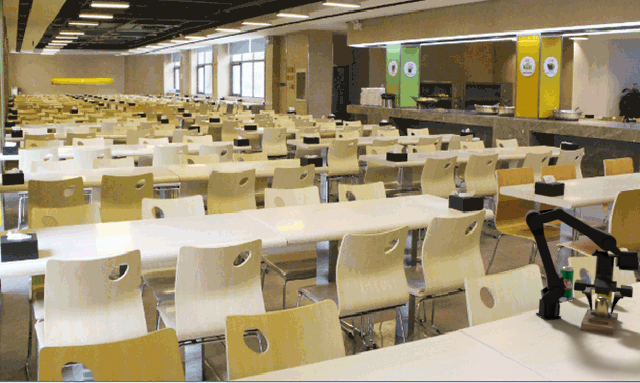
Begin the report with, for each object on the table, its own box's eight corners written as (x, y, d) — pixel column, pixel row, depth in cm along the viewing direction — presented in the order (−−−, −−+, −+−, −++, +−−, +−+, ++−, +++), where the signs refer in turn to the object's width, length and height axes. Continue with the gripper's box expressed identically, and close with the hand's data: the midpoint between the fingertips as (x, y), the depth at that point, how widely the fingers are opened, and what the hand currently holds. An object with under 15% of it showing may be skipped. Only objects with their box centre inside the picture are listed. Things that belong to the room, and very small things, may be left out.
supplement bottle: (601, 299, 253) (603, 275, 252) (614, 302, 249) (616, 278, 248) (593, 301, 251) (595, 277, 249) (606, 304, 246) (607, 280, 245)
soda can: (558, 297, 255) (560, 267, 254) (558, 293, 260) (560, 264, 258) (572, 298, 253) (574, 269, 252) (572, 295, 258) (574, 266, 256)
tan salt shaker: (599, 324, 224) (601, 299, 223) (591, 320, 228) (592, 296, 227) (610, 323, 225) (612, 298, 224) (601, 319, 229) (603, 295, 228)
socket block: (613, 335, 213) (613, 328, 213) (580, 330, 218) (581, 322, 218) (617, 319, 229) (618, 313, 228) (587, 315, 234) (587, 308, 233)
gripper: (573, 270, 221) (570, 314, 223) (634, 277, 213) (630, 323, 215) (576, 263, 231) (573, 305, 233) (634, 270, 223) (630, 313, 225)
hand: (601, 311), depth 226 cm, fingers open, 6 cm apart
